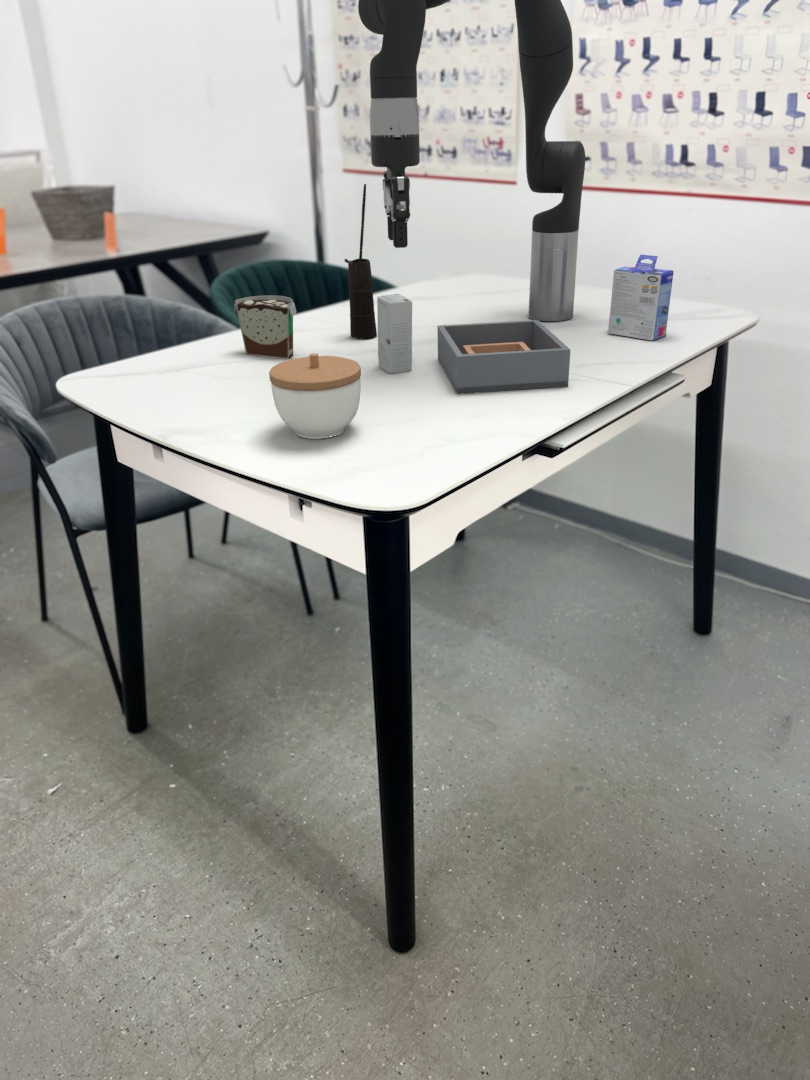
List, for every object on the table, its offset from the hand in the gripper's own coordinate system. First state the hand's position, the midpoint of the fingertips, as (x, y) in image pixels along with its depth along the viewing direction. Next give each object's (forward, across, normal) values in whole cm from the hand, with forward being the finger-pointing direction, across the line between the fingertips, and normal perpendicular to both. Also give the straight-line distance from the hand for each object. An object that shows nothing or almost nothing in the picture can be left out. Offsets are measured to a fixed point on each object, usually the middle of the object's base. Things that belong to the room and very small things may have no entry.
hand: (397, 243), depth 134 cm
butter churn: (+21, -24, -6) cm, 32 cm away
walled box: (+21, +5, +16) cm, 27 cm away
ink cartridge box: (+20, -13, +47) cm, 53 cm away
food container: (+21, -16, -22) cm, 34 cm away
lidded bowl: (+22, +27, -15) cm, 38 cm away
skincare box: (+21, -1, -1) cm, 21 cm away
